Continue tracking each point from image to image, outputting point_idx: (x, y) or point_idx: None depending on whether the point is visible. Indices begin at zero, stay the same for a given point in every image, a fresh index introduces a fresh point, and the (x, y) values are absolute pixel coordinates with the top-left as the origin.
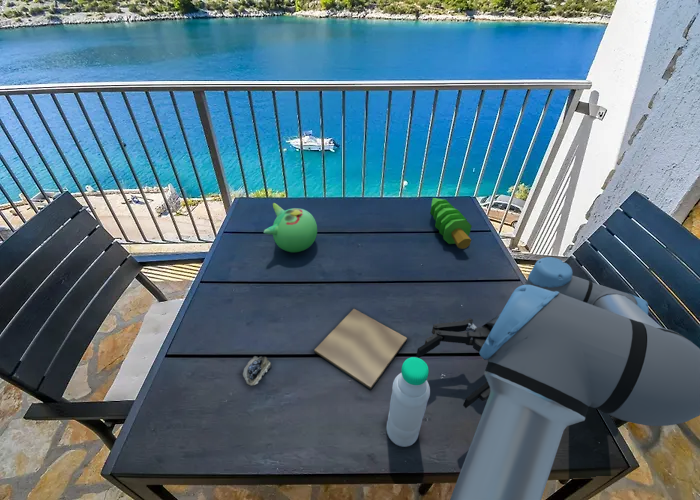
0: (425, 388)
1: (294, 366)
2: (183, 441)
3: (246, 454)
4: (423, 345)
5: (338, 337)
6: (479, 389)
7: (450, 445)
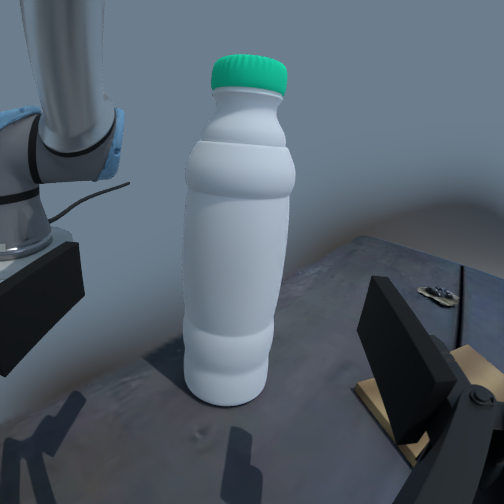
0: (204, 127)
1: (439, 324)
2: (368, 251)
3: (332, 265)
4: (397, 294)
5: (493, 382)
6: (25, 273)
7: (111, 417)
